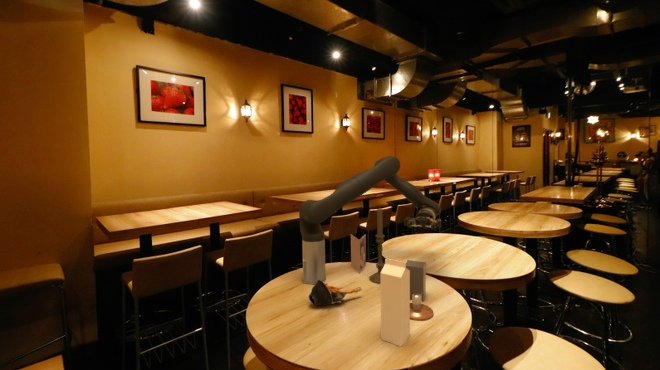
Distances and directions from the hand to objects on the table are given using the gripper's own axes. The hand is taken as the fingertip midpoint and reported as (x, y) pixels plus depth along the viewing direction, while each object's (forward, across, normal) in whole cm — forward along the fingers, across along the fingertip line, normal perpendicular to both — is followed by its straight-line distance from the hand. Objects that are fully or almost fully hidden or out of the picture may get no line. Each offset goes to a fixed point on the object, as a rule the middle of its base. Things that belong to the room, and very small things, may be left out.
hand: (420, 226), depth 116 cm
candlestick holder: (+1, -16, +23) cm, 28 cm away
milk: (+39, -2, +23) cm, 46 cm away
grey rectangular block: (+12, 0, +23) cm, 26 cm away
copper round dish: (+23, +2, +23) cm, 33 cm away
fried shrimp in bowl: (+26, -25, +23) cm, 43 cm away
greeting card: (-7, -29, +23) cm, 38 cm away
